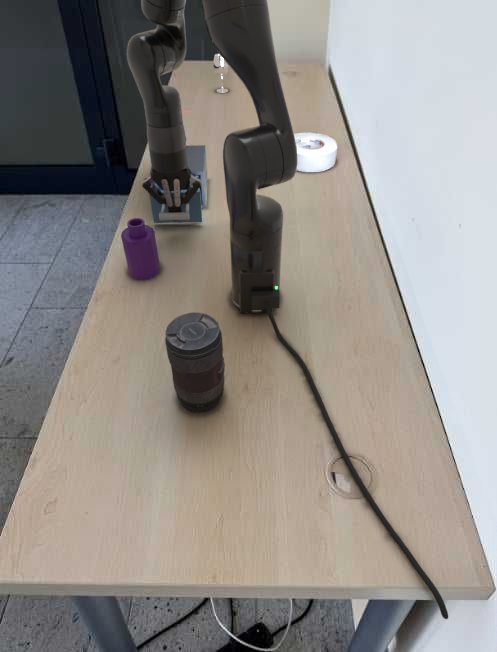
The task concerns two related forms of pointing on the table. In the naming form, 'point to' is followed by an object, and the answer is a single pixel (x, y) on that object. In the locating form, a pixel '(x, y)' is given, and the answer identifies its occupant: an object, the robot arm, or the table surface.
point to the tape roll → (315, 152)
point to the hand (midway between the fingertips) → (176, 218)
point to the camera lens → (196, 360)
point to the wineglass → (220, 70)
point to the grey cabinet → (198, 167)
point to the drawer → (189, 210)
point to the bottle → (140, 249)
